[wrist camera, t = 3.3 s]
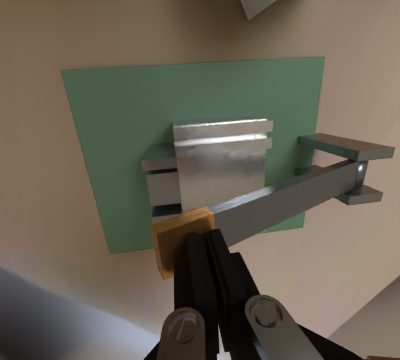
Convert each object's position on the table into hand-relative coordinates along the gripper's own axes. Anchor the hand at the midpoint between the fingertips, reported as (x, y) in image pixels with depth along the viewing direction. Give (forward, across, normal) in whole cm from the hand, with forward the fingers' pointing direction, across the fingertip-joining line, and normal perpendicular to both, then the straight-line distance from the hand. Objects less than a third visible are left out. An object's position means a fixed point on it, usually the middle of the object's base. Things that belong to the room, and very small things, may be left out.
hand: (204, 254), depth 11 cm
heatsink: (+14, -6, -1) cm, 15 cm away
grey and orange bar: (+4, -6, -1) cm, 7 cm away
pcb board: (+14, -2, -1) cm, 14 cm away
